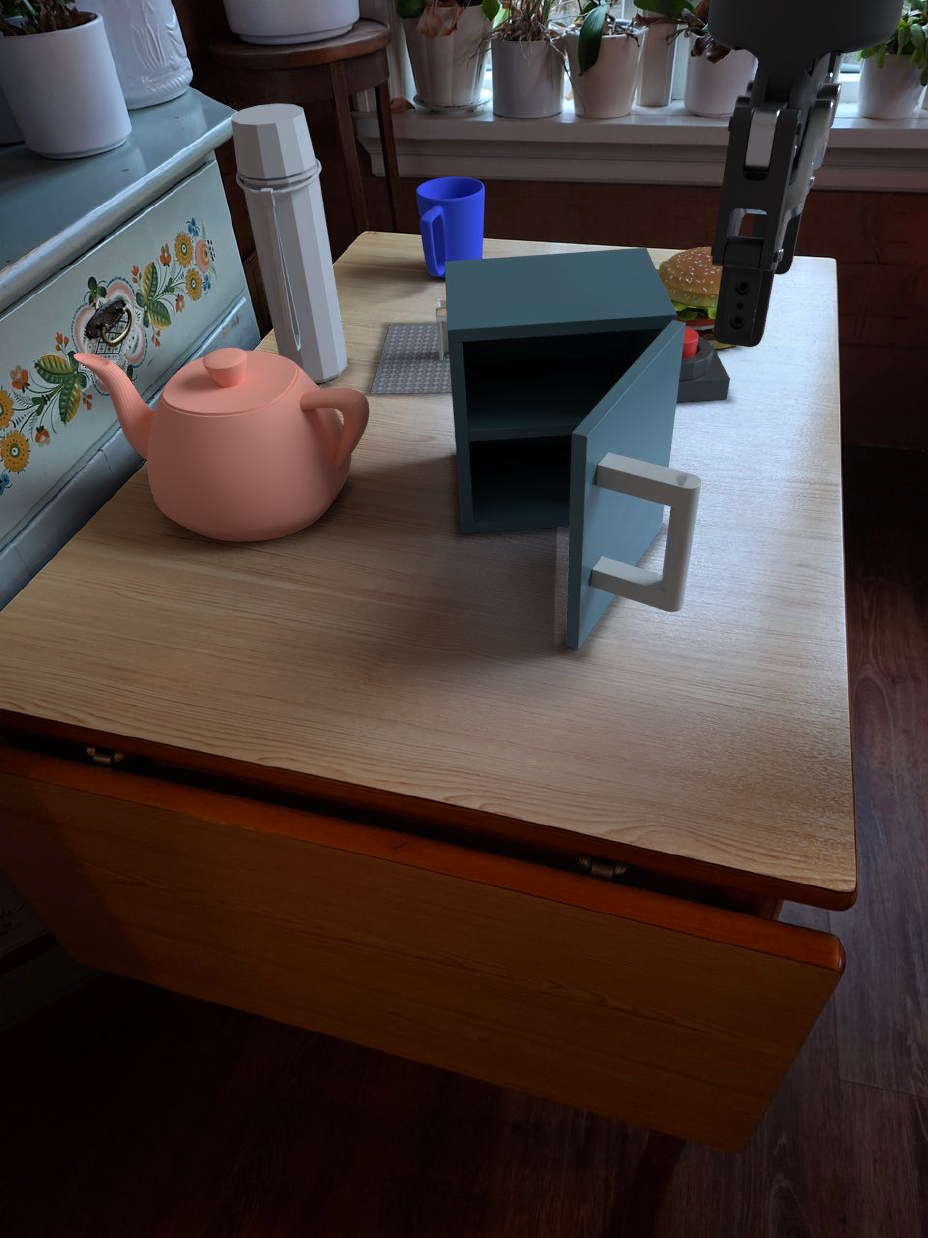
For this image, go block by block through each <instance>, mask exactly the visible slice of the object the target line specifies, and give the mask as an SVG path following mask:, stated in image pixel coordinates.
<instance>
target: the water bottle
mask: <svg viewBox="0 0 928 1238" xmlns="http://www.w3.org/2000/svg"><path fill="white" fill-rule="evenodd" d="M230 122H231V130H232V138H233V145H234V153H235V161H236V169H237V170H236V171H237V172H236V175H235V179H236V183H237V185H238V186H239V187H240V188H241V189H242V190H243V192H244V196H245V202H246V206H247V212H248V216H249V220H250V221H249V222H250V225H251V230H252V234H253V239H254V240H253V241H254V243H255V249H256V253H257V259H258V262H259V267H260V272H261V278H262V282H263V286H264V291H265V295H266V301H267V305H268V310H269V314H270V319H271V324H272V329H273V334H274V338H275V344H276V347H277V352H278V355H281V356H283V357H286V358H288V359H290V360H292V361H293V362H295V363H296V364H297V365H298V366H299V367H300V368H301V369H302V370H303V371H304V372H305V373H306V374H307V375H308V376H309V377H310V378H311V379H312V380H313V381H314V383H315V384H321V383H323V384H324V383H325V382H328V381H331V380H333V379H335V378H338V377H339V376H340V375H341V374H342V373H343V372H344V371H345V370H346V369H347V367H348V354H347V348H346V341H345V336H344V335H345V334H344V329H343V323H342V317H341V315H342V314H341V310H340V303H339V297H338V290H337V285H336V278H335V272H334V265H333V258H332V253H331V252H332V251H331V247H330V239H329V234H328V233H329V232H328V228H327V221H326V214H325V210H324V209H325V208H324V202H323V196H322V189H321V183H320V182H321V181H320V173H321V172H322V164H321V161H320V160H319V159H317V158H316V156H315V155H316V154H315V152H314V147H313V143H312V139H311V135H310V130H309V127H308V122H307V119H306V115H305V112H304V108H303V107H301V106H299V105H296V104H292V103H270V104H269V103H268V104H260V105H255V106H251V107H247V108H243V109H241V110H239V111H237V112H234V113H233V114H232V115H231V119H230ZM241 180H243V183H242V181H241Z"/></svg>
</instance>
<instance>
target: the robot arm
mask: <svg viewBox="0 0 928 1238" xmlns="http://www.w3.org/2000/svg"><path fill="white" fill-rule="evenodd" d="M904 4H905V0H709V7H708V16H707V32H708V34H709V35H710V37H711V38H712V40H713V41H714V42H716V44H719V45H720V46H722V47H724V48H727V49H730V50H733V51H735V52H736V51H743V50H745V51H747V52H749V53H751V54H752V55H753V56H754V57H755V58H756V60H757V64H756V65H757V66H756V67H757V68H756V71H755V73H754V77H753V79H749V80H748V81H747V85H746V89H745V94H744V95H741V94H738V95H737V97H736V100H735V104H734V108H733V111H732V116H730V117H729V120H728V124H727V132H729V135H728V142H727V148H726V149H727V150H726V157H725V164H724V170H723V172H724V173H723V178H722V185H721V193H720V199H719V200H720V202H719V207H718V214H717V222H716V228H715V229H716V230H715V234H714V235H715V236H714V242H713V243H712V245H711V247H712V248H711V256H712V265H714V266H723V267H722V275H721V282H720V289H719V296H718V303H717V311H716V318H715V325H714V332H713V335H714V338H715V340H716V341H717V342H719V343H722V344H729V345H735V347H736V346H737V347H745V348H754V347H757V346H758V345H759V344H760V343H761V341H762V340H763V337H764V334H765V329H766V324H767V318H768V312H769V310H768V307H769V308H770V301H771V296H772V290H773V285H774V279H775V278H774V277H775V275H778V276H779V275H780V276H781V275H786V274H787V273H788V272H789V271H790V270H791V267H792V264H793V262H794V256H795V252H796V247H797V241H798V235H799V231H800V226H801V220H802V215H803V210H804V206H805V203H806V199H807V196H808V195H809V192H810V189H811V188H813V187H814V183H815V179H816V177H815V175H814V171H816V170H818V169H819V168H821V166H823V161H824V158H825V153H826V149H827V146H828V142H829V136H830V129H831V128H832V127H833V125H834V123H835V118H836V114H837V112H838V111H837V110H838V107H839V102H840V100H841V93H842V86H843V84H842V83H841V82H834V81H835V75H836V70H837V66H838V65H837V64H838V59H839V57H841V56H842V54H851V53H856V52H861V51H864V50H868V49H871V48H874V47H876V46H879V45H881V44H883V43H885V42H886V41H888V39H890V38H891V37H892V36H893V35H894V33H896V31H897V29H898V27H899V25H900V22H901V18H902V12H903V9H904V6H905V5H904ZM748 214H754V220H753V226H752V233H751V236H745V235H744V236H743V235H739V233H740V228H741V225H742V220H743V218H744V217H745V216H746V215H748Z"/></svg>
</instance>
